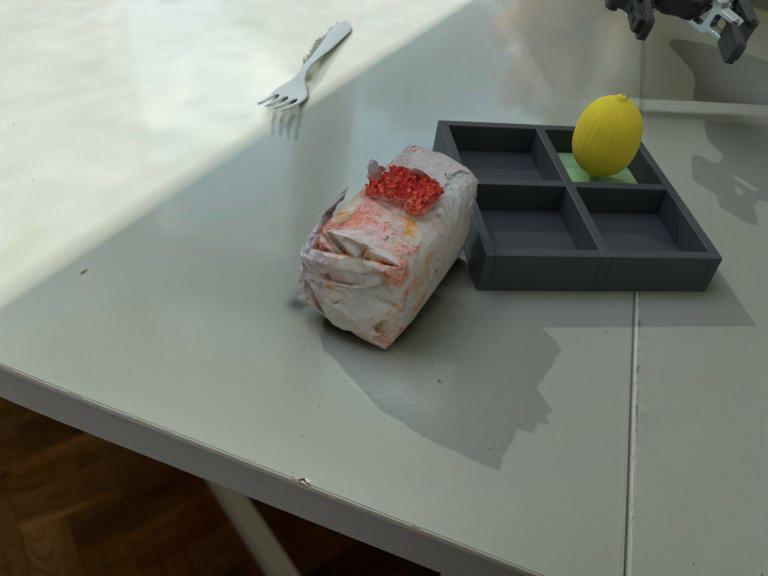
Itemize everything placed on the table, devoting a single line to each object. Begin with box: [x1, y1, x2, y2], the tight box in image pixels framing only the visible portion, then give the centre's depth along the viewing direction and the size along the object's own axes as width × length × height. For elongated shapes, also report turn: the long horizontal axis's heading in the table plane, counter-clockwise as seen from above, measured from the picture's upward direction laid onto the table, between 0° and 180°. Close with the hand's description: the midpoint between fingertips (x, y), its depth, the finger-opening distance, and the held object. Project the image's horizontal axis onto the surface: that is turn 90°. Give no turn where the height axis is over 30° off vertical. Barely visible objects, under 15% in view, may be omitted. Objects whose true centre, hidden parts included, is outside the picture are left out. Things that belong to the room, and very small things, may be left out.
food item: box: [297, 144, 479, 350], centre depth 53 cm, size 14×8×10 cm, turn 153°
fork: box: [256, 22, 352, 112], centre depth 79 cm, size 3×24×2 cm, turn 165°
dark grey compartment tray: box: [431, 119, 723, 292], centre depth 64 cm, size 18×18×3 cm
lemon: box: [572, 93, 644, 178], centre depth 66 cm, size 6×6×8 cm
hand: (690, 43), depth 70 cm, fingers open, 8 cm apart
